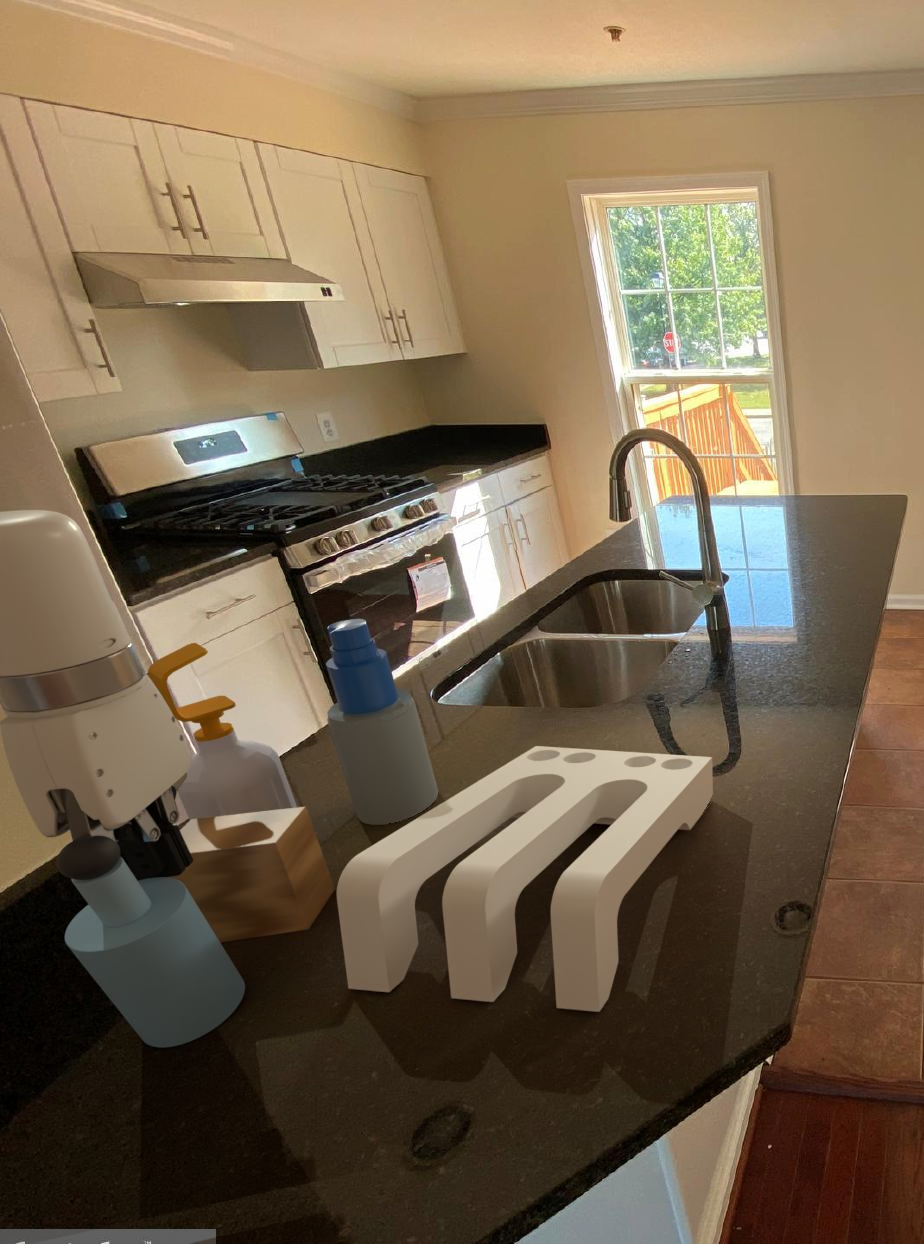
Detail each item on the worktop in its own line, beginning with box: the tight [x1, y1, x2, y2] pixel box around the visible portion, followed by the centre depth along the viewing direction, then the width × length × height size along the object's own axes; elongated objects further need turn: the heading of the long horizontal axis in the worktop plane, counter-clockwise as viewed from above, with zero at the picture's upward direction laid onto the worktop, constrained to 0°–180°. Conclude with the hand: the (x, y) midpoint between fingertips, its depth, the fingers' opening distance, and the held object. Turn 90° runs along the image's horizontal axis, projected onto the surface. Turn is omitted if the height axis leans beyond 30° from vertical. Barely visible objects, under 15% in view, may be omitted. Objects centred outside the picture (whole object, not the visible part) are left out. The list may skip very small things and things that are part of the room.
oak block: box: [168, 806, 336, 944], centre depth 72 cm, size 10×6×11 cm, turn 104°
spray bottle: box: [325, 618, 439, 826], centre depth 87 cm, size 9×9×25 cm
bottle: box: [55, 835, 246, 1048], centre depth 58 cm, size 13×7×20 cm
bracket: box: [336, 745, 714, 1013], centre depth 79 cm, size 24×12×32 cm
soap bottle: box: [147, 642, 298, 821], centre depth 81 cm, size 9×9×25 cm
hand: (166, 871), depth 61 cm, fingers closed
